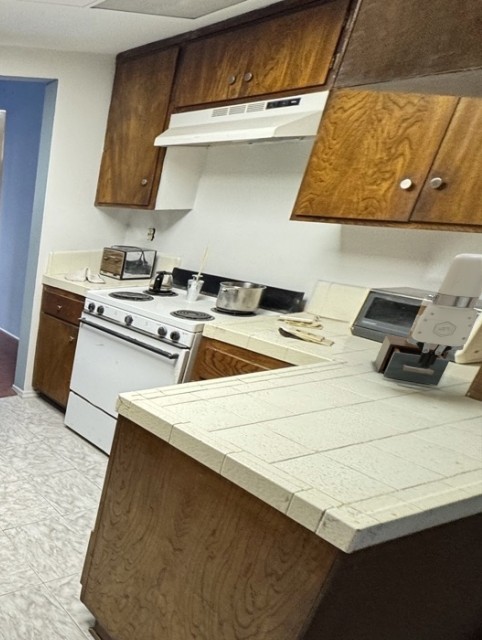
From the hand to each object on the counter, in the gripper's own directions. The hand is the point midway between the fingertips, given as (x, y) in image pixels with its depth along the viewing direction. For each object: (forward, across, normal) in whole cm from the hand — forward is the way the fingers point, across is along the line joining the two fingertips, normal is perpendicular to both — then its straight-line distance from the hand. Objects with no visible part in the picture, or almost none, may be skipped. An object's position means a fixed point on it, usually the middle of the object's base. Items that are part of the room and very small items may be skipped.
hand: (423, 366), depth 132 cm
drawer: (+7, 0, +14) cm, 15 cm away
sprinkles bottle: (-2, 0, +26) cm, 27 cm away
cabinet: (+8, 0, +25) cm, 26 cm away
